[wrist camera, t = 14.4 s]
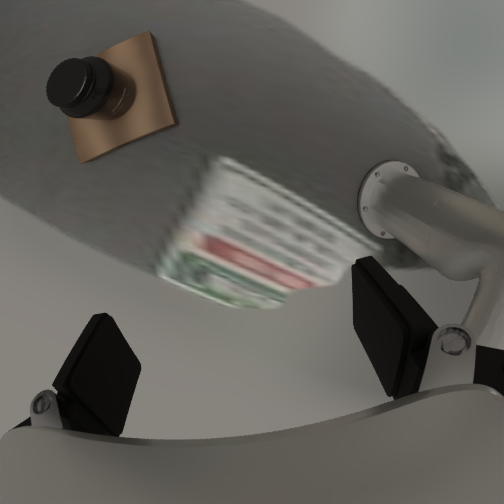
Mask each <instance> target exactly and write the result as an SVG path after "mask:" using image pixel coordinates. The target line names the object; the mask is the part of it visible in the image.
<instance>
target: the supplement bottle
mask: <svg viewBox="0 0 504 504" xmlns="http://www.w3.org/2000/svg"><path fill="white" fill-rule="evenodd" d="M46 88H47V90H46V92H47V97H48V100H49V101H50V103H52V105H55V106H57V107H60V109H61V110H62V112H63V113H64V114H66V115H67V116H69V117H72V118H78V119H93V120H113V119H116V118H118V117H120V116H122V115H123V114H124V113H125V112H126V111H127V110H128V109H129V108H130V107H131V105H132V103H133V101H134V98H135V94H136V86H135V82H134V80H133V78H132V77H131V76H130V75H129V74H128V73H126V72H125V71H123V70H122V69H120V68H118V67H117V66H115V65H113V64H111V63H110V62H108V61H106V60H104V59H102V58H100V57H94V56H91V57H85V58H82V59H78V58H72V59H68V60H65V61H63V62H61V63H60V64H59V65H57V67H56V68H55V69H54V70H53V72H52V73H51V75H50V77H49V80H48V82H47V86H46Z"/></svg>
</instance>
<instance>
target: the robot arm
mask: <svg viewBox="0 0 504 504" xmlns="http://www.w3.org/2000/svg"><path fill="white" fill-rule="evenodd" d="M375 173H376V174H375ZM363 207H364V208H363ZM358 209H359V214H360V218H361V220H362V222H363V224H364V225H365V226H366V228H367V229H368V230H369V231H370V232H371V233H373V234H374V235H376V236H378V237H380V238H385V239H392V238H396V239H398V240H399V241H400V242H402V243H403V244H404V245H406V246H407V247H408V248H409V249H411V250H412V251H413V252H415V253H416V254H417V255H418V256H420V257H421V258H422V259H423V260H425V261H426V262H427V263H428V264H430V265H431V266H432V267H433V268H435V269H436V270H437V271H438V272H439V273H441V274H442V275H443V276H445V277H447V278H449V279H451V280H455V281H467V280H472V279H475V278H479V282H478V286H477V289H476V291H475V294H474V297H473V299H472V302H471V304H470V306H469V308H468V311H467V313H466V315H465V317H464V319H463V321H462V323H461V325H460V324H446V325H442V326H441V327H438V326H437V325H436V324H435V323H434V321H433V320H432V319H431V318H430V317H429V315H428V314H427V313H426V312H425V311H424V310H423V308H422V307H421V306H420V305H419V304H418V303H417V302H416V300H415V299H414V298H413V297H412V296H411V295H410V294H409V292H407V290H406V289H405V288H404V287H403V286H402V285H399V284H398V283H397V282H396V281H395V280H394V279H393V278H392V277H391V276H390V275H389V274H388V273H387V271H386V270H385V269H384V268H383V267H382V266H381V265H380V264H379V263H378V262H377V261H376V260H375V259H374V258H373V257H372V256H368V257H364V258H360V259H357V260H356V262H355V264H353V265H352V267H351V270H352V292H353V325H354V329H355V331H356V333H357V335H358V337H359V339H360V341H361V343H362V345H363V347H364V349H365V351H366V353H367V355H368V357H369V359H370V361H371V363H372V365H373V367H374V369H375V371H376V373H377V375H378V377H379V380H380V382H381V384H382V386H383V388H384V390H385V392H386V394H387V396H389V397H391V396H393V398H394V400H393V401H391V402H387V403H384V404H381V405H378V406H375V407H372V408H369V409H366V410H363V411H360V412H356V413H353V414H349V415H345V416H342V417H338V418H334V419H330V420H326V421H322V422H318V423H314V424H309V425H305V426H300V427H295V428H290V429H285V430H279V431H273V432H267V433H260V434H254V435H244V436H236V437H224V438H210V439H189V440H188V439H187V440H186V439H185V440H165V439H139V438H125V437H119V435H120V434H121V433H122V431H123V429H124V425H125V421H126V418H127V414H128V411H129V407H130V404H131V401H132V397H133V394H134V391H135V388H136V384H137V381H138V378H139V375H140V372H141V364H140V362H139V360H138V359H137V357H136V355H135V354H134V352H133V351H132V349H131V348H130V346H129V344H128V343H127V341H126V340H125V338H124V336H123V335H122V333H121V331H120V329H119V328H118V326H117V324H116V323H115V321H114V319H113V318H112V317H111V316H109V315H108V314H107V313H101V314H95V315H93V316H92V318H91V319H90V321H89V322H88V324H87V325H86V327H85V329H84V330H83V332H82V333H81V335H80V337H79V338H78V340H77V342H76V343H75V345H74V347H73V348H72V350H71V352H70V353H69V355H68V357H67V358H66V360H65V362H64V364H63V366H62V368H61V369H60V371H59V373H58V375H57V376H56V378H55V380H54V382H53V384H52V386H53V387H55V389H56V390H57V391H58V393H57V395H56V394H55V393H54V392H53V391H52V390H44V391H42V392H40V393H39V394H37V396H35V398H34V399H33V401H32V403H31V406H30V415H31V417H29V418H28V419H26V420H25V421H23V422H22V423H20V424H19V425H17V426H16V427H14V428H13V429H11V430H9V431H8V432H7V433H5V434H4V435H3V437H2V438H1V440H0V504H504V211H502V210H499V209H497V208H494V207H492V206H489V205H487V204H484V203H482V202H479V201H477V200H475V199H472V198H470V197H468V196H465V195H463V194H460V193H458V192H456V191H453V190H451V189H448V188H445V187H443V186H440V185H439V184H438V183H436V184H435V183H432V182H429V181H427V180H424V179H421V178H420V177H419V175H418V173H417V172H416V171H415V170H414V169H413V168H412V167H411V166H409V165H408V164H406V163H403V162H400V161H386V162H383V163H381V164H378V165H377V166H376V167H374V168H373V169H372V170H371V171H370V172H369V173H368V174H367V176H366V177H365V179H364V181H363V183H362V185H361V188H360V192H359V197H358Z"/></svg>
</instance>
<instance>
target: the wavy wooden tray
mask: <svg viewBox="0 0 504 504" xmlns="http://www.w3.org/2000/svg"><path fill="white" fill-rule="evenodd" d="M94 57H100V58H102V59H104V60H106V61H108V62H110V63H111V64H113V65H115V66H117V67H118V68H120V69H122V70H123V71H125V72H126V73H128V74H129V75H130V76H131V77H132V78H133V80H134V82H135V86H136V94H135V98H134V101H133V103H132V105H131V107H130V108H129V109H128V110H127V111H126V112H125V113H124V114H123V115H122V116H120V117H118V118H116V119H113V120H93V119H78V118H72V117H69V116H67V117H68V121H69V125H70V129H71V133H72V136H73V140H74V144H75V147H76V150H77V154H78V157H79V160H80V164H83V163H86V162H90V161H92V160H94V159H96V158H98V157H100V156H102V155H104V154H107V153H109V152H111V151H113V150H115V149H117V148H120V147H122V146H124V145H127V144H129V143H131V142H134V141H136V140H138V139H141V138H143V137H146V136H148V135H151V134H154V133H156V132H159V131H161V130H164V129H167V128H170V127H173V126H175V125H178V121H177V117H176V114H175V110H174V107H173V103H172V100H171V96H170V93H169V89H168V86H167V82H166V78H165V75H164V71H163V67H162V64H161V60H160V56H159V52H158V48H157V45H156V41H155V37H154V36H153V35H152V34H151V32H150V31H147V32H145V33H142V34H140V35H137V36H135V37H133V38H130V39H128V40H126V41H124V42H121V43H119V44H117V45H115V46H113V47H111V48H109V49H107V50H105V51H103V52H101V53H99V54H97V55H95V56H94Z"/></svg>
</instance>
